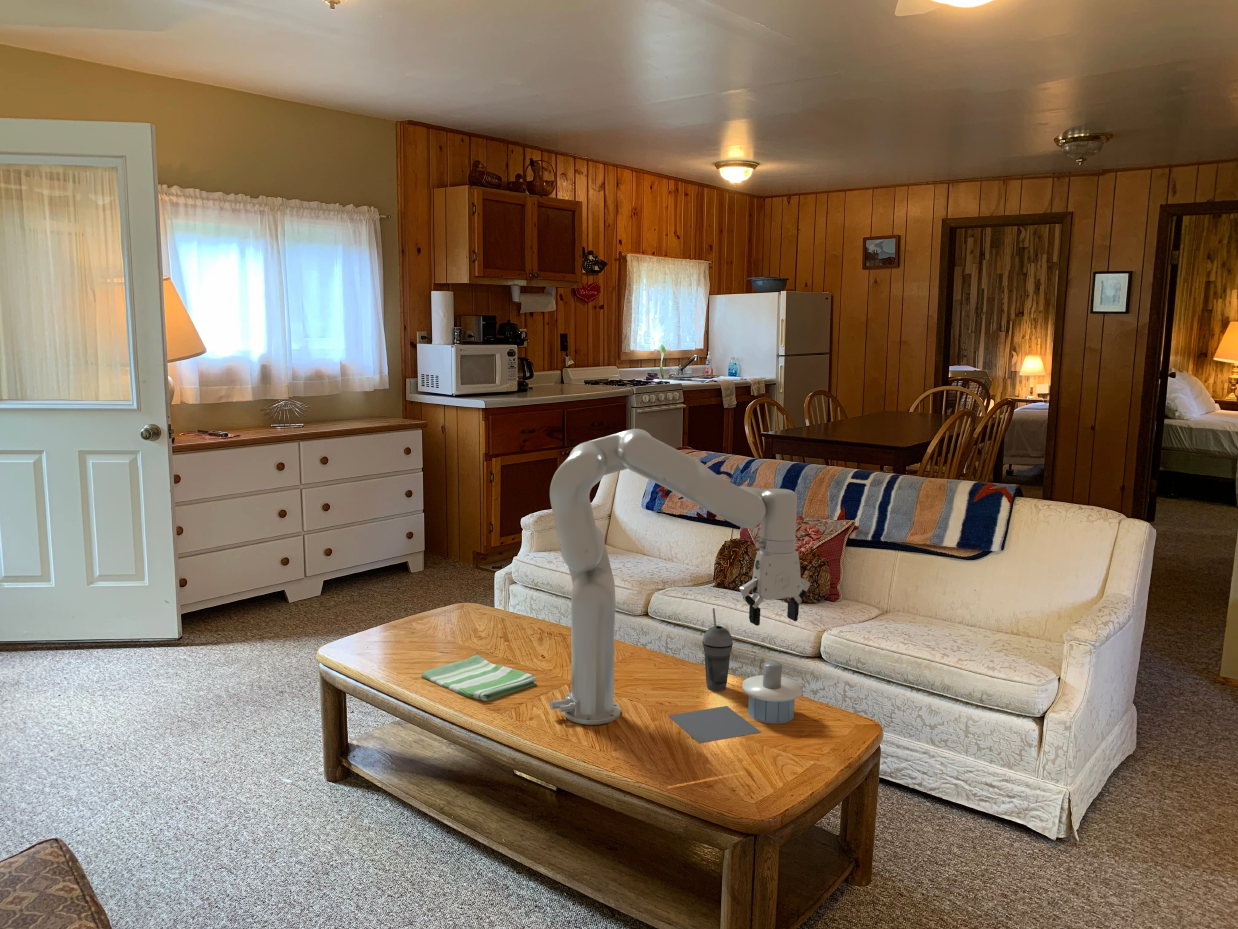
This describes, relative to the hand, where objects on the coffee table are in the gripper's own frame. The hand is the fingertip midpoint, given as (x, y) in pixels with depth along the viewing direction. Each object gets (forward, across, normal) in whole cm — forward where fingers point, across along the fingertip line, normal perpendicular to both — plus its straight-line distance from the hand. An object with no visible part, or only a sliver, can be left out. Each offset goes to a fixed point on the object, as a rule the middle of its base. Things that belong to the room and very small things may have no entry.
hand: (773, 621), depth 205 cm
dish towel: (+23, -55, +43) cm, 74 cm away
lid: (+16, 0, 0) cm, 16 cm away
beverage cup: (+22, -4, +18) cm, 29 cm away
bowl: (+22, 0, 0) cm, 22 cm away
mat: (+22, -14, 0) cm, 26 cm away
